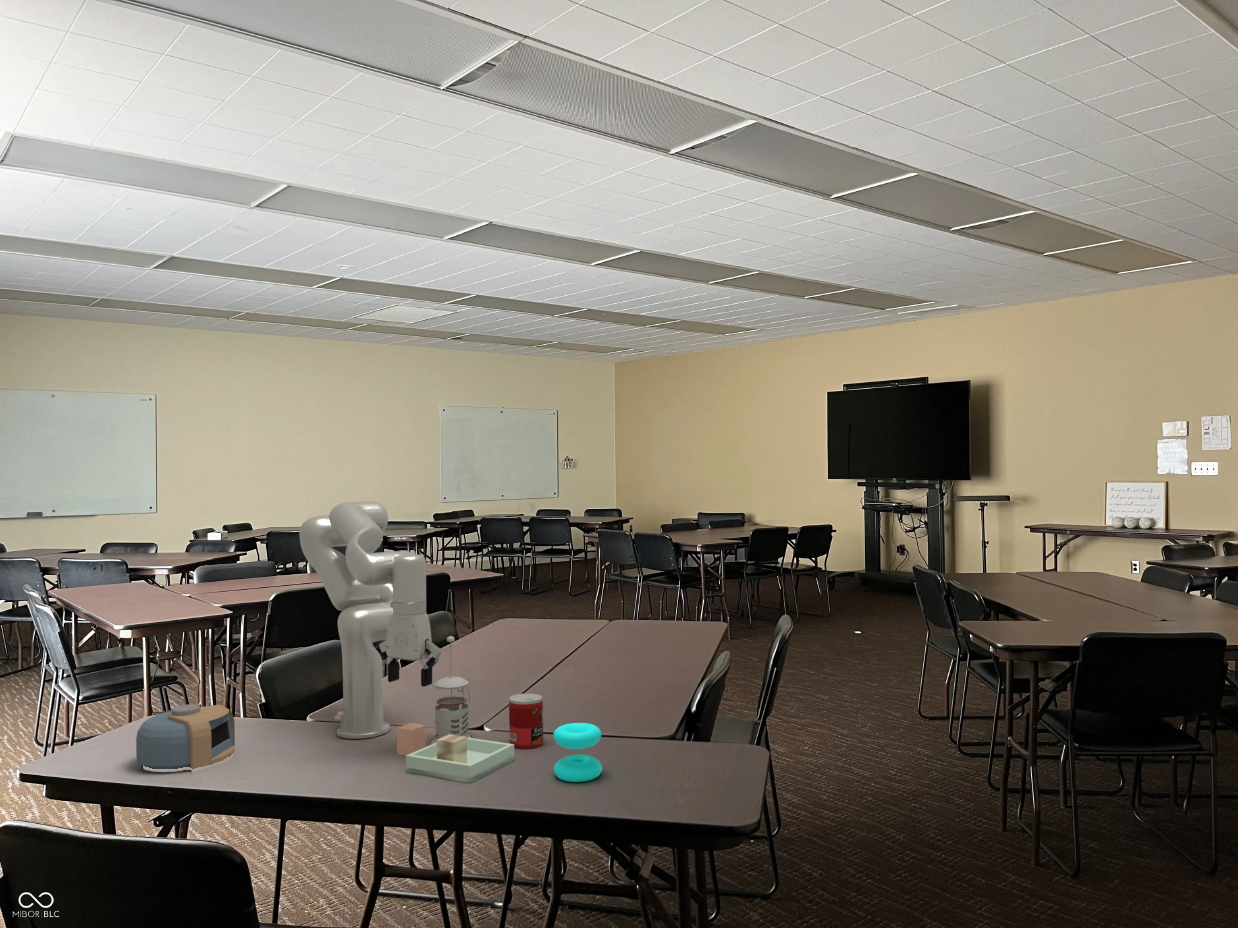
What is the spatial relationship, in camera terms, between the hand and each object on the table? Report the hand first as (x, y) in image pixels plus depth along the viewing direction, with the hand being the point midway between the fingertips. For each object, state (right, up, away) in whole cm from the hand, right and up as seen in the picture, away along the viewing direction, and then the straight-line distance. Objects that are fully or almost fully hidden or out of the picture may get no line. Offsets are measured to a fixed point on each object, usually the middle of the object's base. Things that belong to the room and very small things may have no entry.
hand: (410, 682), depth 203 cm
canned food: (+26, -16, +4) cm, 31 cm away
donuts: (+39, -15, -18) cm, 46 cm away
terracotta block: (0, -16, 0) cm, 16 cm away
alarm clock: (-50, -17, -2) cm, 53 cm away
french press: (+8, -16, +9) cm, 20 cm away
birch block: (+12, -15, -14) cm, 23 cm away
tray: (+14, -16, -10) cm, 23 cm away
